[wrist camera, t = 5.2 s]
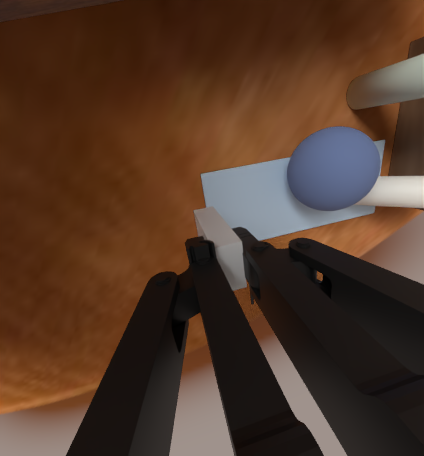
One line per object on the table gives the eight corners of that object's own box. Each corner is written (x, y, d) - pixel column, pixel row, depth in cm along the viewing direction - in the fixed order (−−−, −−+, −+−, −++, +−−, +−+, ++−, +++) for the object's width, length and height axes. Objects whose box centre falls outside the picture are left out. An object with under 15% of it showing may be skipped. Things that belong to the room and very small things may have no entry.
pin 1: (344, 112, 18) (500, 84, 10) (347, 76, 17) (523, 12, 9) (370, 108, 18) (542, 78, 10) (374, 72, 17) (569, 7, 9)
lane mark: (213, 250, 20) (213, 251, 20) (200, 173, 17) (200, 174, 17) (372, 212, 22) (374, 212, 22) (383, 139, 19) (385, 139, 19)
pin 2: (333, 208, 19) (490, 217, 14) (336, 179, 18) (506, 179, 13) (336, 199, 21) (476, 205, 16) (339, 173, 20) (489, 170, 15)
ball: (376, 180, 18) (302, 204, 21) (356, 107, 16) (278, 145, 19) (404, 208, 13) (301, 234, 16) (380, 108, 11) (270, 159, 14)
